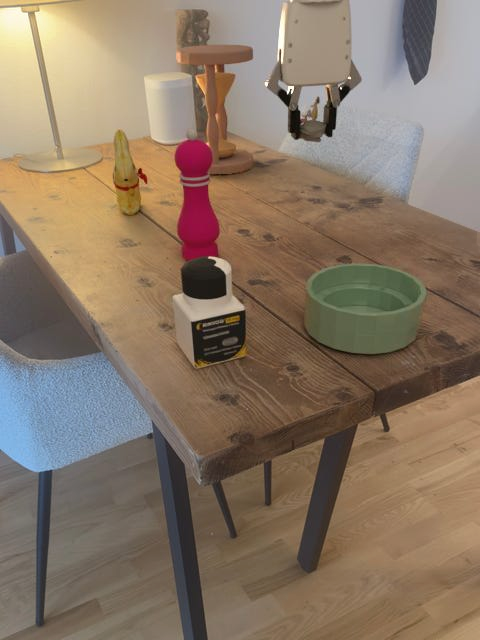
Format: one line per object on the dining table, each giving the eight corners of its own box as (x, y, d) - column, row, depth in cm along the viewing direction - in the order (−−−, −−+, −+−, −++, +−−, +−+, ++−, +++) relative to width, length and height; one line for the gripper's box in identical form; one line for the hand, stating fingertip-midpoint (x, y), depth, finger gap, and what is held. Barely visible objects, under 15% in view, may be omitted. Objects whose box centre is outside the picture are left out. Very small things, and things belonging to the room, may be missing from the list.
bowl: (393, 297, 84) (399, 259, 81) (437, 350, 73) (446, 308, 69) (292, 307, 83) (294, 268, 79) (321, 363, 71) (324, 320, 67)
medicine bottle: (195, 370, 70) (187, 280, 63) (176, 344, 75) (167, 257, 68) (247, 357, 72) (245, 268, 65) (225, 332, 77) (222, 247, 70)
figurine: (325, 144, 86) (327, 99, 82) (296, 144, 86) (297, 100, 82) (325, 136, 90) (328, 93, 86) (297, 136, 90) (299, 93, 86)
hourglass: (201, 155, 152) (194, 44, 137) (262, 159, 148) (262, 44, 132) (173, 172, 140) (162, 52, 124) (239, 178, 135) (237, 53, 119)
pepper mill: (191, 267, 95) (181, 136, 82) (172, 253, 100) (160, 127, 87) (228, 257, 98) (224, 129, 85) (208, 244, 102) (200, 121, 90)
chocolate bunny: (118, 218, 114) (105, 137, 105) (117, 202, 123) (105, 125, 113) (152, 216, 115) (142, 135, 106) (149, 199, 124) (139, 123, 114)
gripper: (368, -16, 80) (356, 127, 91) (251, -10, 78) (253, 135, 90) (387, -15, 74) (371, 138, 85) (260, -9, 72) (262, 146, 84)
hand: (311, 135), depth 87 cm, fingers closed on figurine, 4 cm apart
